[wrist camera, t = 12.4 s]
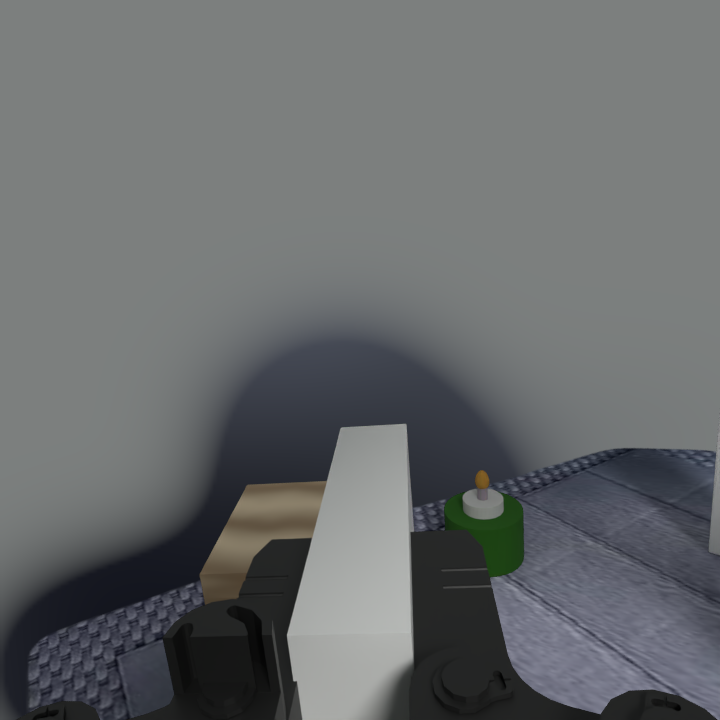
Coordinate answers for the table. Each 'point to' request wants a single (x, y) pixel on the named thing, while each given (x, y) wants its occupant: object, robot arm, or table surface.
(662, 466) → the table surface
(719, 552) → the milk
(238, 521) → the press block
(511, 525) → the candle
